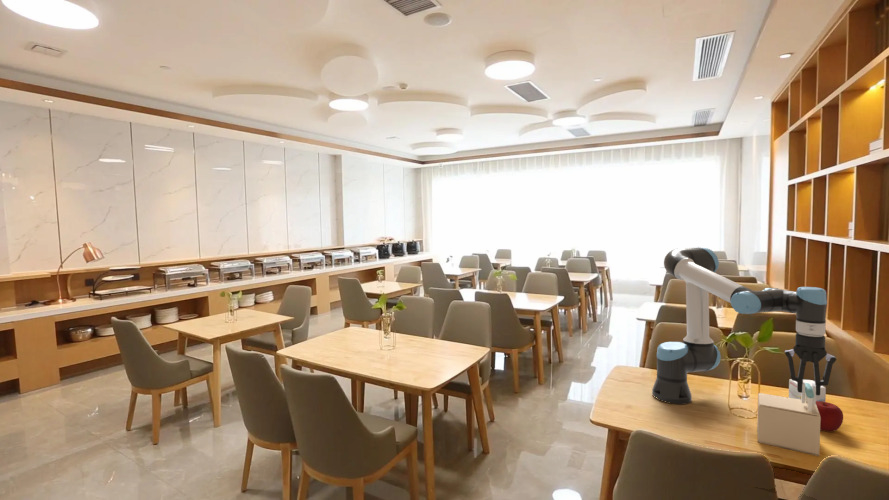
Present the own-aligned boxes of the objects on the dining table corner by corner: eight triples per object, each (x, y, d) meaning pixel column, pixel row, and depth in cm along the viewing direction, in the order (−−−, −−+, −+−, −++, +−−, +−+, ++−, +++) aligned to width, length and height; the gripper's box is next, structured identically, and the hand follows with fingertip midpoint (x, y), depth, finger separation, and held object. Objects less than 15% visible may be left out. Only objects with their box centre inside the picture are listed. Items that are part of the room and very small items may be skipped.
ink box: (825, 417, 164) (827, 387, 163) (800, 415, 166) (801, 386, 165) (811, 407, 172) (812, 379, 172) (787, 406, 174) (788, 378, 173)
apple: (831, 424, 158) (832, 398, 157) (849, 437, 149) (850, 409, 148) (802, 422, 160) (802, 396, 160) (818, 434, 151) (819, 407, 150)
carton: (757, 442, 147) (758, 405, 146) (757, 428, 156) (758, 393, 156) (819, 456, 137) (820, 417, 137) (814, 440, 147) (815, 403, 146)
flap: (759, 405, 146) (759, 385, 146) (758, 393, 155) (759, 375, 155) (818, 415, 137) (818, 394, 137) (813, 402, 146) (814, 383, 146)
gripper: (782, 333, 143) (780, 401, 144) (843, 339, 134) (840, 412, 135) (780, 328, 149) (779, 394, 150) (839, 334, 140) (836, 404, 141)
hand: (808, 402), depth 143 cm, fingers closed on flap, 2 cm apart
